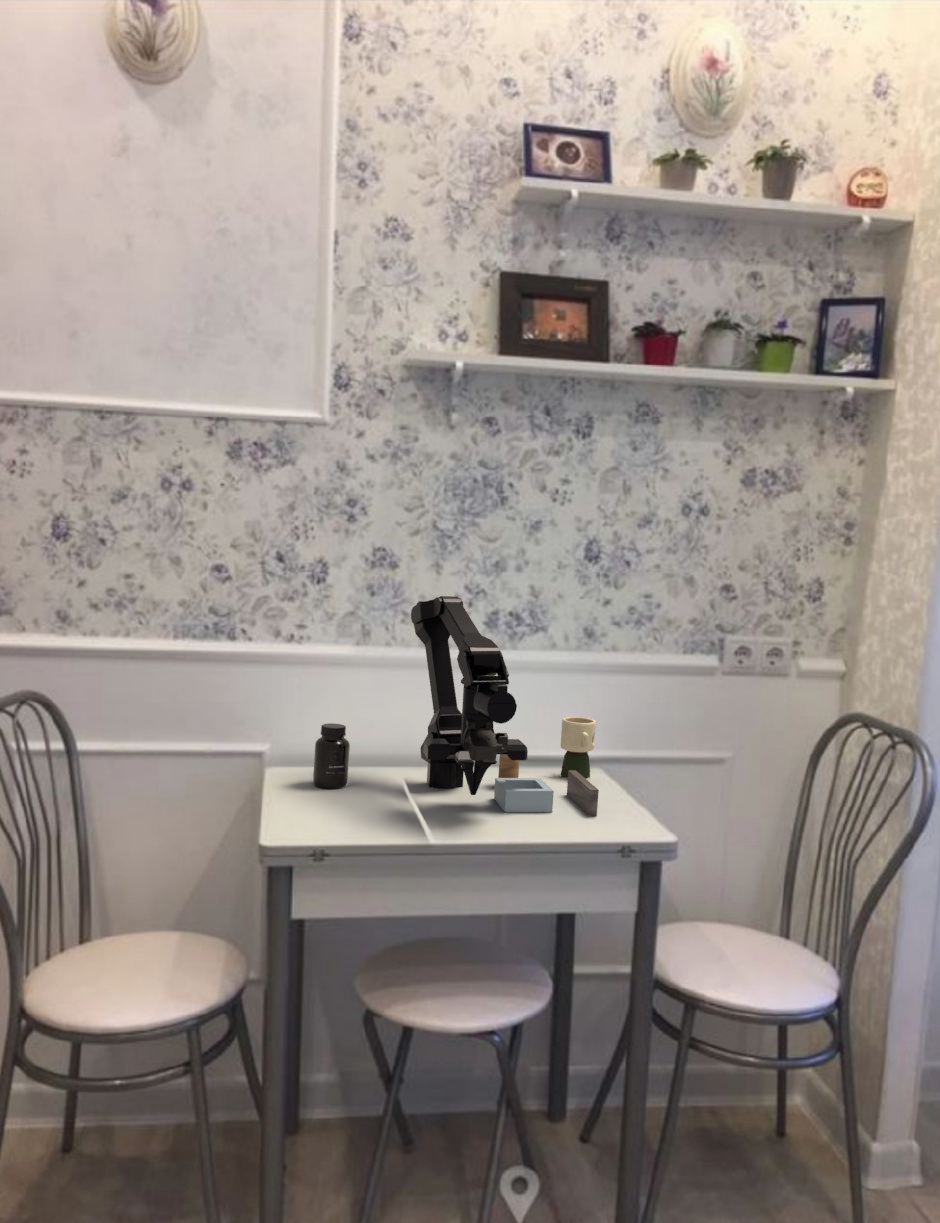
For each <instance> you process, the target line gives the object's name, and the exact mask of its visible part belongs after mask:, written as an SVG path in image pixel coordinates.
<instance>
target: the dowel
mask: <svg viewBox="0 0 940 1223" xmlns="http://www.w3.org/2000/svg"><path fill="white" fill-rule="evenodd" d="M519 770H520V760H511V759H510V758H509V757H508V756H507V754H499V764H498V777H497V778H519V773H520V772H519Z"/></svg>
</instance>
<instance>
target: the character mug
mask: <svg viewBox="0 0 940 1223" xmlns="http://www.w3.org/2000/svg"><path fill="white" fill-rule="evenodd" d="M561 719H562V720H561V730H560V732H561V733H560V735H561V736H560V748H561V749H562V750H565V751H566V752H565V754H564V756H563V761H562V766H561V770H560V777H561V778H562V779H563V778H566V779H568V770H576V771H577V772H578V773H579V774H581V775H582V776H583V777H584V778H585V779H586V780H587V779H588V778H589V779H590V778H591V766H590V755H589V754H588V753H589V752H592V751H593V750H594V749H595V734H596V727H597V726H596V725H597V723H596V722H597V721H596V720H595V719H592V718H588V717H582V716H567V717H563V718H561Z"/></svg>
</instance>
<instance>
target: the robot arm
mask: <svg viewBox="0 0 940 1223" xmlns="http://www.w3.org/2000/svg"><path fill="white" fill-rule="evenodd" d="M410 619H411V620H410V621H411V622H412V624H413V628H414V632H415V636H416V637H417V638H418V639H419V640H420V641H421V643H423V645H424V649H425V655H426V663H427V670H428V678H429V686H430V694H431V702H432V710H433V715H432V718H431V720H430V721H429V724H428V726H427V735H426V737H425V738H424V740H423V742H422V744H421V745H420V758H421V760H424V761H425V762H426V763H427V772H426V785H427V786H428V788H433V789H439V790H453V789H456V788H463V787H464V776H465V780H466V784H467V787H468V790H469V793H470V796H475V795H477V793H478V790H479V787H480V785H481V782H482V780H483V778H484V775H485V774H486V772H487V770H488V769H489V768H490V767H491V765H496V764H497V763H498V761H497V755H500V754H507V756H508V757H509V758H510V759H511V760H519V761H527V760H528V752H529V751H528V750H529V749H528V747H527V746H526V744H525V743H524V742H523V741H521V740H520V739H518V738H514V739H513V738H509V736H508V733H507V732H497V733H496V732H495V730H494V723H495V724H502V725H503V724H506V723H508V722H510V721H511V720H512V719H513V717H515V715H516V712H517V708H518V704H517V702H516V699H515V697H514V695H513V694H512V693H510V692H508V687H509V686H508V685H509V684H510V682H509V680H510V679H509V676H510V674H509V670H508V669H507V666H506V662H505V660H504V656H503V653H502V651H501V649H500V647H499V646H498V645H497V644H496V643H495V642H494V641H493V640H492V639H490V638H489V637H486V636H484V635H482V634H481V633H480V631H479V630H478V628H477V627H476V625H475V623H474V620H472V618H471V617H470V615H469V613H468V612H467V611H466V608H465V606H464V601H463V598H461V597H459V596H453V595H452V596H447V595H445V596H443V595H442V596H441V595H440V596H438V597H435V598H433V599H429V600H423V601H422V600H419V601H418V602H417V603H416V605H414V606H413V607H412V608H411V611H410ZM450 637H451V638H452V640H453V642H454V644H455V645H456V647H457V649H458V654H457V658H456V660H457V663H458V669H459V670H460V672H461V675H462V678H461V680H460V684H462V685H463V689H462V690H463V692H462V708H461V711H460V709H459V707H458V700H457V695H456V687H455V681H454V674H453V667H452V660H451V657H452V656H451V651H450V644H449V639H450Z"/></svg>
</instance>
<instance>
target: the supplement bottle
mask: <svg viewBox="0 0 940 1223" xmlns="http://www.w3.org/2000/svg"><path fill="white" fill-rule="evenodd" d="M346 732H347V730H346V725H345V724H340V723H333V722H332V723H323V724H322V725H321V729H320V735H321V737H319V738H317V740H316V741H315V744H314V758H313V773H312V774H313V775H312V776H313V777H312V778H313V779H312V781H313V785H314V786H315V787H318V788H321V789H324V790H325V789H327V790H338V789H342V788H345V787H346V786H347V785H348V781H349V780H348V779H349V762H350V749H351V748H350V747H351V745H350V741H349V740H348V739H346V738H345V737H346V735H347V733H346Z"/></svg>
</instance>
